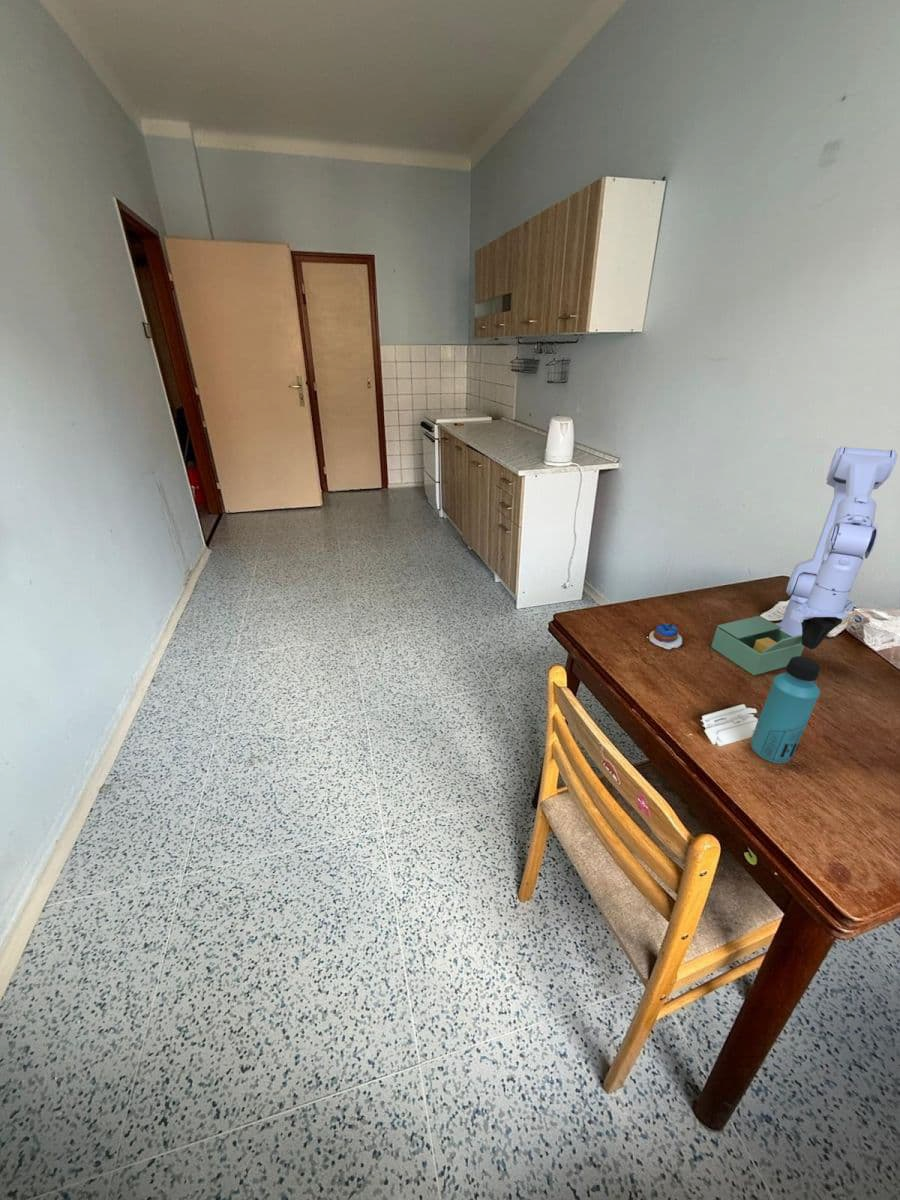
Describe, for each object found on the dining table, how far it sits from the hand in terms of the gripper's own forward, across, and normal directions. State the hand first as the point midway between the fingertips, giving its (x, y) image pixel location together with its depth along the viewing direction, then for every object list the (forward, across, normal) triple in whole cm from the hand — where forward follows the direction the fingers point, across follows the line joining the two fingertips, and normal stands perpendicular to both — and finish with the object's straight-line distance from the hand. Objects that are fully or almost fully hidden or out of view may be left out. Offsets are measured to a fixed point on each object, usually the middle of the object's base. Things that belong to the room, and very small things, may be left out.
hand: (808, 646), depth 96 cm
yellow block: (+8, 0, +8) cm, 11 cm away
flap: (0, 0, +3) cm, 3 cm away
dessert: (+9, -14, +23) cm, 28 cm away
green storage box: (+9, 0, +11) cm, 14 cm away
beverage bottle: (+10, -23, -13) cm, 29 cm away
